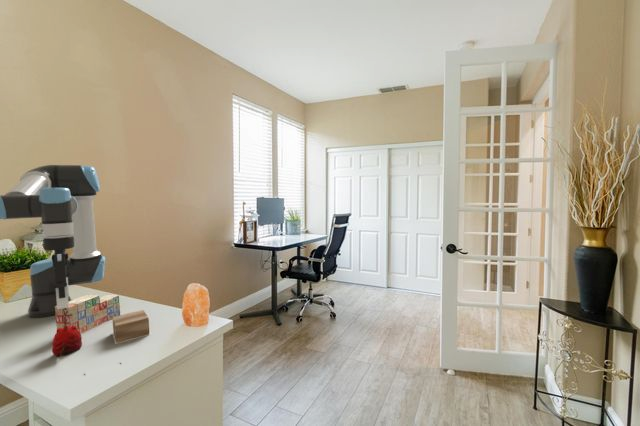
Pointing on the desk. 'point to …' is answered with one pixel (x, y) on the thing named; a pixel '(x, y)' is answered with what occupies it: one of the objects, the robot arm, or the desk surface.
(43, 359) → the desk surface
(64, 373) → the desk surface
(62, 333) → the red clay folk toy
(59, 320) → the stack of blocks
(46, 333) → the desk surface
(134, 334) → the plinth
